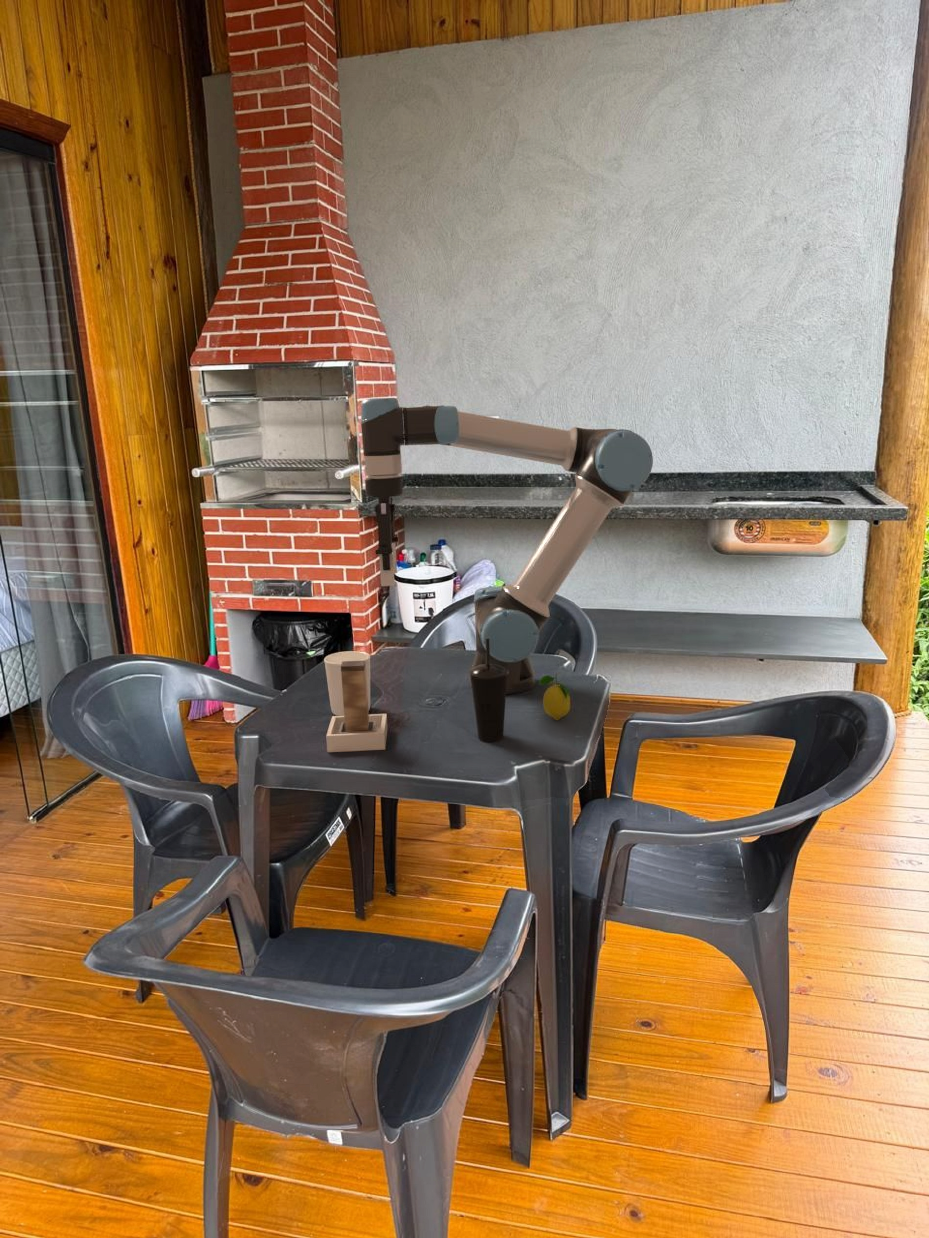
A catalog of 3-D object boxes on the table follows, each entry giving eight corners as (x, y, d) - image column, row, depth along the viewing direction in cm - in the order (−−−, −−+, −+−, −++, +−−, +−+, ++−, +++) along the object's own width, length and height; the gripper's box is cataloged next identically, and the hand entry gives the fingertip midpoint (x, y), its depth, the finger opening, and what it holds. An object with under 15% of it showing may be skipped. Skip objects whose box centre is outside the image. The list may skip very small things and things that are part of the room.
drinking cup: (471, 730, 177) (468, 634, 172) (509, 730, 177) (507, 633, 172) (470, 745, 170) (466, 644, 165) (510, 744, 169) (507, 643, 164)
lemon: (539, 715, 184) (538, 669, 182) (566, 713, 185) (566, 667, 182) (544, 726, 178) (543, 679, 175) (573, 724, 178) (572, 677, 176)
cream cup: (365, 719, 186) (361, 664, 183) (321, 717, 188) (317, 663, 185) (379, 703, 195) (375, 651, 192) (337, 702, 197) (333, 650, 194)
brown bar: (369, 732, 176) (365, 660, 172) (368, 739, 172) (363, 665, 169) (347, 733, 176) (342, 661, 172) (346, 740, 172) (340, 666, 169)
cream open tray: (387, 728, 180) (386, 713, 179) (385, 749, 169) (384, 733, 168) (333, 731, 179) (332, 716, 179) (327, 752, 169) (326, 736, 168)
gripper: (368, 472, 191) (374, 569, 196) (360, 482, 167) (367, 592, 172) (403, 471, 191) (408, 567, 196) (400, 480, 167) (405, 590, 172)
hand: (389, 579), depth 184 cm, fingers open, 13 cm apart
